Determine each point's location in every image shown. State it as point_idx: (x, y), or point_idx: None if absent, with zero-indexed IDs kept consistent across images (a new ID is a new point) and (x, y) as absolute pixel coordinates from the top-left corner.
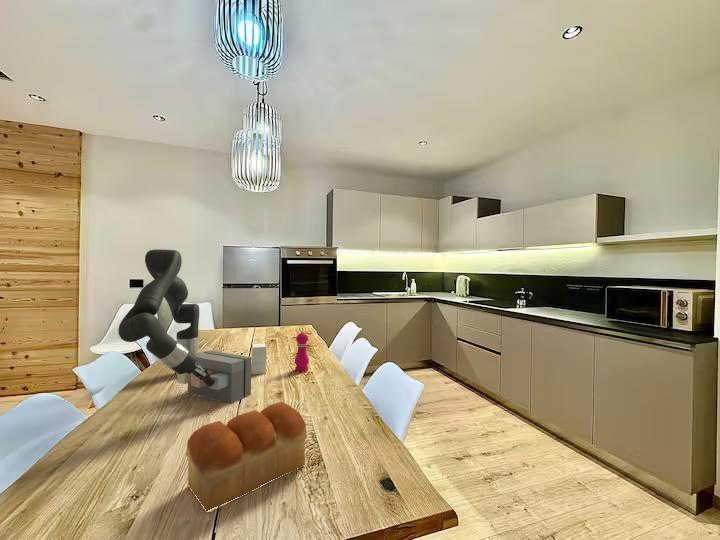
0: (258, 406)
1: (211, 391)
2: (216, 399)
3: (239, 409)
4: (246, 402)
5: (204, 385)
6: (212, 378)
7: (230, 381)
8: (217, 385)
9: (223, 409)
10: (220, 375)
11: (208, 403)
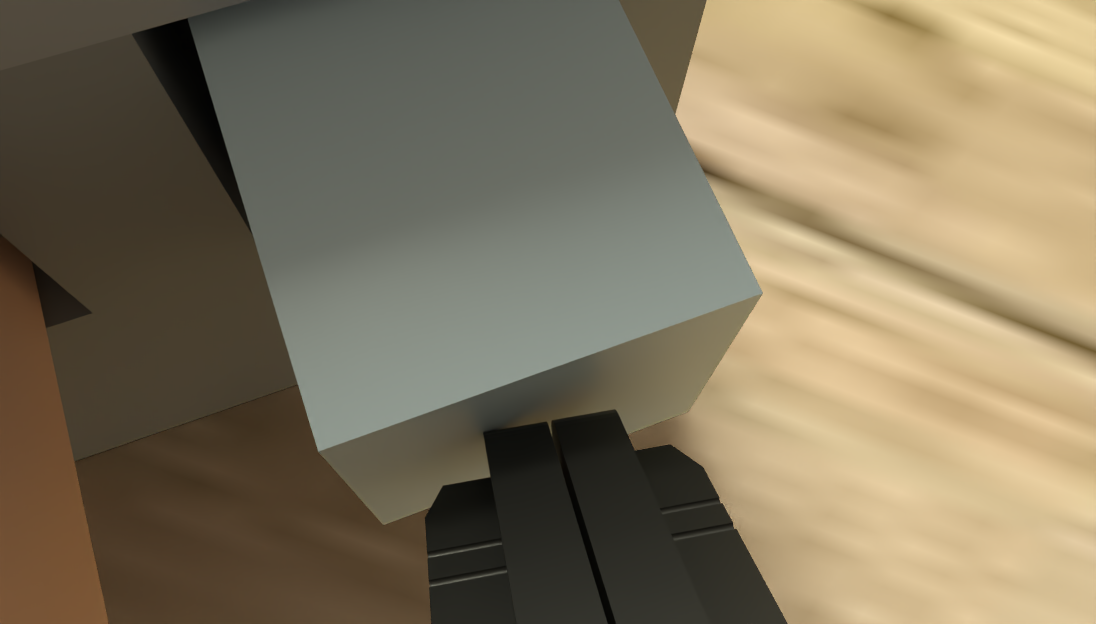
0: (986, 31)
1: (96, 396)
2: (285, 385)
3: (937, 264)
4: (732, 85)
5: (95, 567)
6: (482, 415)
7: (664, 44)
8: (688, 387)
9: (784, 451)
10: (535, 142)
11: (335, 555)
